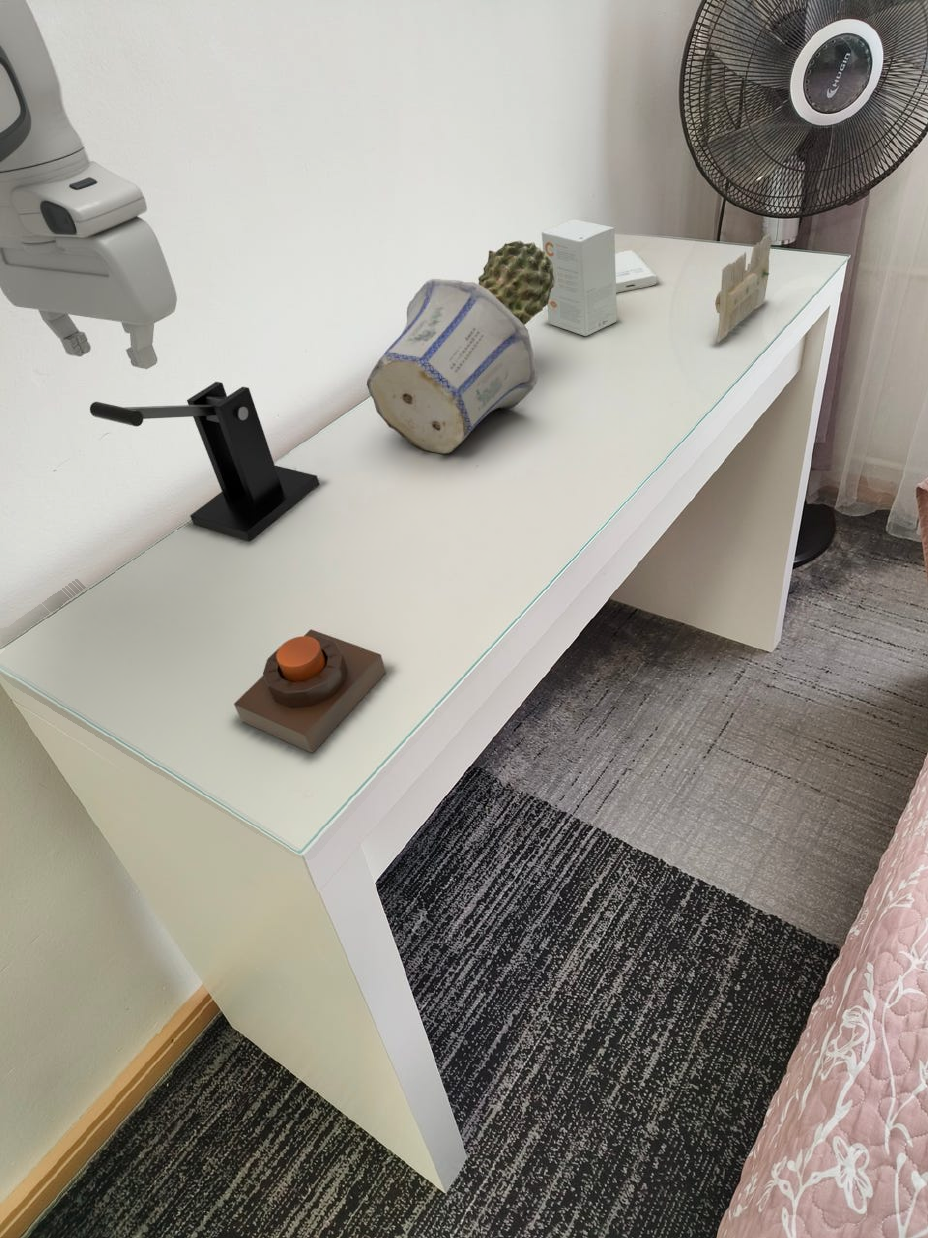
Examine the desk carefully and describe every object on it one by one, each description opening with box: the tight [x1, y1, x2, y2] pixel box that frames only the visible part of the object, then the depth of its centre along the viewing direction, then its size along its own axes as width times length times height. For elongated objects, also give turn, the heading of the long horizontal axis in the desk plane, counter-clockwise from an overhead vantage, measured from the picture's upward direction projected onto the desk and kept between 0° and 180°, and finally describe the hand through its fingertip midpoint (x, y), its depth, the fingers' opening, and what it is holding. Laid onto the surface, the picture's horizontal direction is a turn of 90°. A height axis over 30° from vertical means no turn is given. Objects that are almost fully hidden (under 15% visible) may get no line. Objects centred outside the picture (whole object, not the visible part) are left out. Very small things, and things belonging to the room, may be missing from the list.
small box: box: [541, 218, 618, 337], centre depth 118 cm, size 8×6×13 cm
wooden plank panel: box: [714, 233, 772, 343], centre depth 112 cm, size 15×2×10 cm, turn 144°
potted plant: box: [366, 240, 555, 455], centre depth 102 cm, size 18×18×30 cm
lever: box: [89, 395, 228, 427], centre depth 85 cm, size 15×6×2 cm, turn 147°
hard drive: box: [615, 249, 658, 294], centre depth 133 cm, size 2×8×12 cm
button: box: [276, 635, 325, 682], centre depth 69 cm, size 4×4×2 cm
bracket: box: [186, 381, 320, 542], centre depth 93 cm, size 12×9×14 cm
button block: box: [233, 629, 387, 754], centre depth 71 cm, size 10×8×4 cm
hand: (112, 359), depth 78 cm, fingers open, 8 cm apart
